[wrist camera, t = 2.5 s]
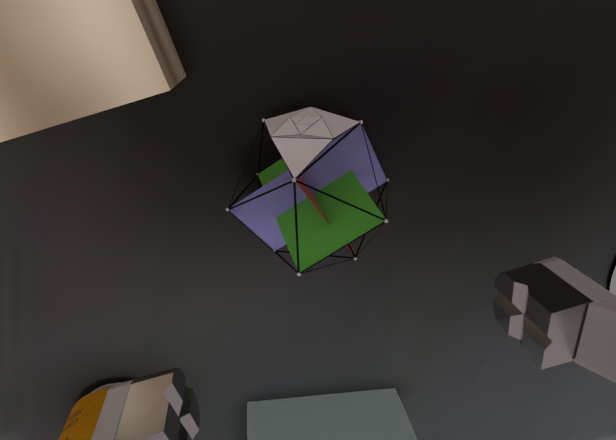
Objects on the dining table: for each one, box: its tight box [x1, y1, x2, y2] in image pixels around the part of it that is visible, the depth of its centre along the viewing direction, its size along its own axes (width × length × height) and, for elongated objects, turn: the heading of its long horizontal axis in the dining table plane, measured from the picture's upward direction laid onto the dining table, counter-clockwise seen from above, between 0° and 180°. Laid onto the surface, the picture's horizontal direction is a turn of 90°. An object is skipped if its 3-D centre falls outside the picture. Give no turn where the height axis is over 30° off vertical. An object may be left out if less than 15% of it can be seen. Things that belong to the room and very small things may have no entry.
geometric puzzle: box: [226, 106, 389, 276], centre depth 17 cm, size 7×7×8 cm
